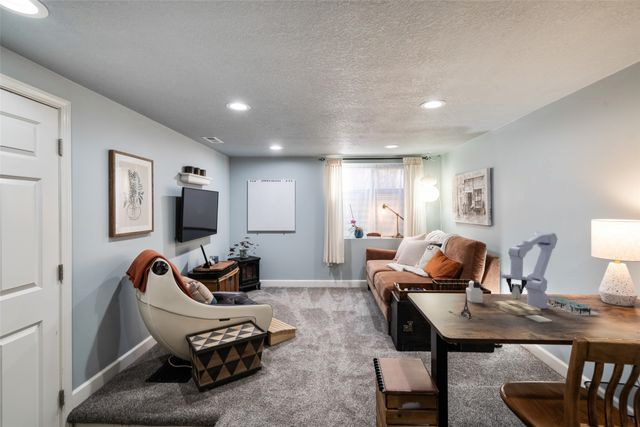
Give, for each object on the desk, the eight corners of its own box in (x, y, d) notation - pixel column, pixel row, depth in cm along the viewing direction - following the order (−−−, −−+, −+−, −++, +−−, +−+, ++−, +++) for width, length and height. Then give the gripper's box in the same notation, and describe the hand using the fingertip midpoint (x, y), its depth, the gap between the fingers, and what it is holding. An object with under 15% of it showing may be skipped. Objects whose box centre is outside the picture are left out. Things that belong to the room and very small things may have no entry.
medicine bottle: (477, 299, 186) (478, 280, 185) (482, 303, 179) (483, 283, 178) (465, 298, 186) (466, 279, 186) (470, 302, 179) (470, 282, 179)
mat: (537, 315, 158) (537, 314, 158) (552, 321, 150) (552, 320, 150) (525, 316, 157) (525, 315, 157) (539, 322, 149) (539, 321, 149)
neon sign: (623, 306, 164) (578, 308, 159) (623, 314, 164) (578, 316, 159) (583, 295, 185) (543, 297, 180) (583, 302, 185) (542, 304, 180)
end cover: (516, 297, 170) (516, 283, 170) (522, 299, 165) (522, 285, 165) (509, 297, 169) (509, 283, 169) (515, 300, 165) (515, 285, 164)
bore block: (515, 304, 177) (515, 300, 177) (540, 314, 161) (540, 309, 161) (492, 305, 173) (492, 301, 173) (515, 315, 158) (515, 310, 158)
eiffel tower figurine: (446, 312, 163) (447, 287, 163) (461, 310, 166) (462, 286, 166) (468, 322, 149) (469, 295, 148) (484, 320, 152) (485, 294, 152)
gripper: (501, 267, 168) (500, 292, 168) (532, 271, 160) (532, 296, 160) (501, 266, 173) (501, 289, 174) (532, 269, 165) (531, 293, 166)
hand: (515, 292), depth 167 cm, fingers closed on end cover, 4 cm apart
